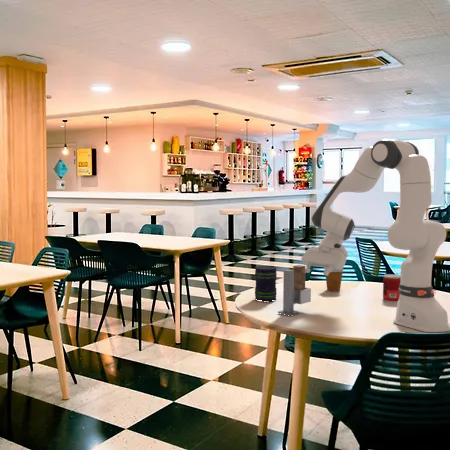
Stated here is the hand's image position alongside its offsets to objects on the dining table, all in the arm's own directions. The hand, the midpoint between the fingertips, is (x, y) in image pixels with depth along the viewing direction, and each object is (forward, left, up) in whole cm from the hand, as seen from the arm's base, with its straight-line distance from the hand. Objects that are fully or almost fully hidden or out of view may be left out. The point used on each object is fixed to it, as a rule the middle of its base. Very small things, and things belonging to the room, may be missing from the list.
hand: (316, 273), depth 224 cm
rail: (-5, +11, -9) cm, 15 cm away
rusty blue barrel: (+19, +15, -15) cm, 28 cm away
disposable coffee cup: (+27, -26, -15) cm, 40 cm away
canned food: (0, -40, -15) cm, 43 cm away
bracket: (-6, +14, -14) cm, 21 cm away
